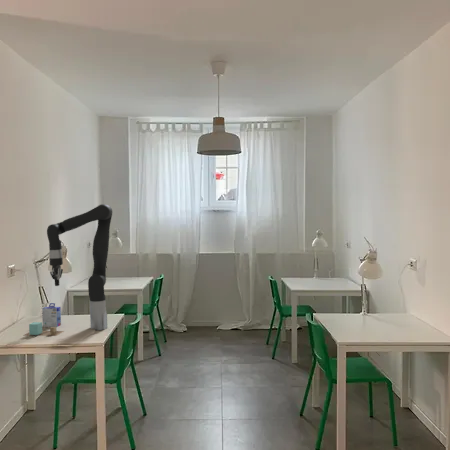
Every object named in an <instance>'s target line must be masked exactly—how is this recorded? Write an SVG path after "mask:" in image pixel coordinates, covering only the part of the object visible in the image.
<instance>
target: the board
mask: <svg viewBox="0 0 450 450" xmlns="http://www.w3.org/2000/svg"><path fill="white" fill-rule="evenodd" d="M64 332H65V330H57V334H56V335H50V330H42V333H41V334H39V335H29V332H27V333H26V334H25V333H24V334H23V335H22V336H25V337H26V336H27V337H28V336H29V337H30V336H32V337H33V336H34V337H35V336H36V337H37V336H38V337H39V336H40V337H42V336H44V337H57V336H58V335H60V334H62V333H64Z"/></svg>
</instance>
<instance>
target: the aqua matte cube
mask: <svg viewBox="0 0 450 450" xmlns="http://www.w3.org/2000/svg"><path fill="white" fill-rule="evenodd" d="M28 329H29V330H28V331H29V332H28V333H29V335H39V334H41V333H42V331H43V321H41V322H40V321H38V322H37V321H36V322H35V321H34V322H31V323H29V324H28Z"/></svg>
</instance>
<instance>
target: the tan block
mask: <svg viewBox="0 0 450 450" xmlns="http://www.w3.org/2000/svg"><path fill="white" fill-rule="evenodd" d="M49 331H50V335H56V334H57V331H58V330H57V327H50V328H49Z"/></svg>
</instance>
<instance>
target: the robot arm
mask: <svg viewBox="0 0 450 450" xmlns="http://www.w3.org/2000/svg"><path fill="white" fill-rule="evenodd" d="M112 216H113V209H112V207H111V206H110V205H109V204H106V203H101V204H99V205H97V206H95V207H94V208H92V209H90V210H88V211H86V212H84V213H81V214H79V215H75V216H72V217H69V218H66V219H65V220H64V219H63V221H60V222H57V223H52V224H49V225H48V227H47V229H46V235H47V239H48V243H49V244H48V248H49V249H48V250H49V251H48V252H49V253H48V255H49V257H48V258H49V266H51V271H50V272H49V273H50V277H51V278H52V280H54V286H55V287H59V286H60V280H61V278H62V275H63V270H64V269H62V265H64V264H63V263H64V262H63V259H64V258H63V249H62V241H61V240H60V236H61V235H62V234H65V233H66V232H69V231H73V230H75V229H78V228H80V227H82V226H84V225H86V224H88V223H91V222H95V221H97V228H96V231H95V234H94V238H93V242H92V243H93V244H92V258H93V268H92V269H93V271H92V273H91V276H90V277H89V278H88V281H87V282H88V283H87V286H88V287H87V288H88V297H89V317H90V319H89V322H90V324H89V326H90V330H94V331H101V330H102V331H104V330H105V329H106V330H107V328H108V311H107V307H106V306H107V305H106V301H107V300H106V294H105V285H106V283H107V261H108V254H109V248H110V247H109V246H110V228H111V227H110V226H111V222H112Z"/></svg>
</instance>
